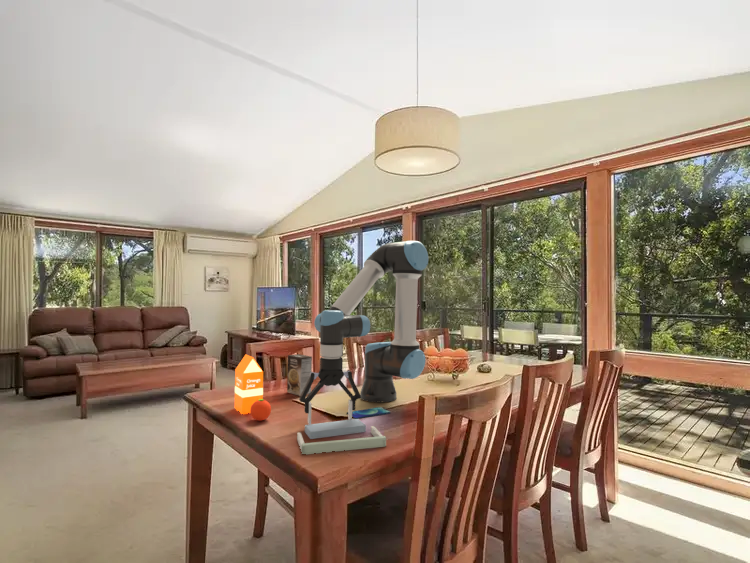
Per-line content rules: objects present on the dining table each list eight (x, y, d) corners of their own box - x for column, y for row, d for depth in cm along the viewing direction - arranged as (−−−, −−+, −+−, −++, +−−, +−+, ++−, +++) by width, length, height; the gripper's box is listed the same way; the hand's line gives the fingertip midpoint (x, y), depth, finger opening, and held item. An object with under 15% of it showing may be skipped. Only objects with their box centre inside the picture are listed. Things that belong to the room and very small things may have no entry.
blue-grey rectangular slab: (357, 426, 138) (357, 418, 138) (365, 433, 132) (365, 425, 132) (304, 432, 131) (304, 425, 131) (310, 440, 125) (310, 432, 125)
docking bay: (373, 432, 131) (374, 424, 131) (386, 446, 120) (386, 437, 120) (297, 439, 124) (297, 431, 124) (302, 454, 113) (302, 445, 113)
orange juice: (254, 405, 159) (255, 353, 160) (262, 411, 152) (264, 356, 153) (233, 408, 155) (234, 355, 155) (241, 414, 148) (242, 358, 148)
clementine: (249, 417, 145) (249, 396, 145) (269, 415, 147) (269, 395, 147) (250, 424, 137) (251, 402, 137) (272, 422, 140) (272, 401, 140)
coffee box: (286, 392, 180) (287, 355, 181) (298, 389, 185) (298, 353, 185) (300, 396, 174) (300, 357, 175) (311, 393, 179) (312, 355, 180)
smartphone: (345, 412, 151) (380, 406, 159) (345, 414, 151) (380, 409, 159) (355, 418, 144) (391, 411, 152) (355, 420, 144) (391, 414, 152)
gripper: (364, 354, 145) (363, 415, 144) (292, 356, 138) (290, 420, 137) (370, 357, 137) (369, 422, 137) (294, 359, 130) (292, 428, 130)
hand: (329, 421), depth 137 cm, fingers open, 13 cm apart
